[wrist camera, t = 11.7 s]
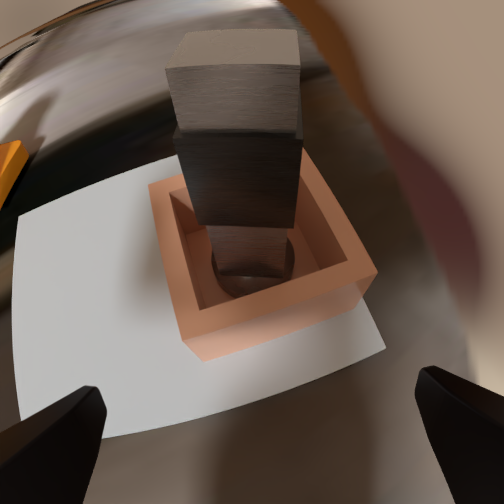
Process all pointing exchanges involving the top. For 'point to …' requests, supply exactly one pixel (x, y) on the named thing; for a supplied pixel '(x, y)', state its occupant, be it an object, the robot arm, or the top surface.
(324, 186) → the holder
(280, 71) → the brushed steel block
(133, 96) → the top surface
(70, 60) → the top surface
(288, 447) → the top surface
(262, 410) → the top surface
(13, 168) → the bracket
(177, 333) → the bench mat
